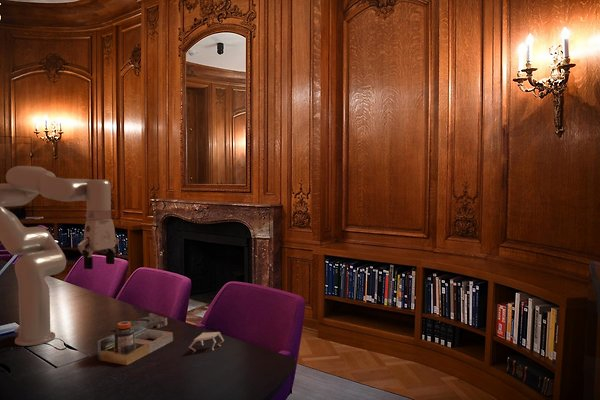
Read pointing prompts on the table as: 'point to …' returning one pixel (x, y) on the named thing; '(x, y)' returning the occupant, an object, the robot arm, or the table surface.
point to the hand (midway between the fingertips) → (99, 266)
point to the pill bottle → (124, 338)
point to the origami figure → (206, 336)
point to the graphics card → (151, 321)
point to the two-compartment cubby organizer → (140, 344)
